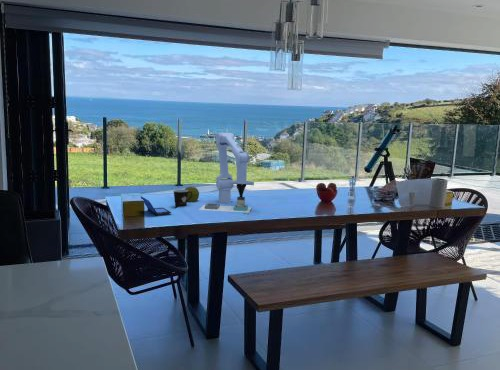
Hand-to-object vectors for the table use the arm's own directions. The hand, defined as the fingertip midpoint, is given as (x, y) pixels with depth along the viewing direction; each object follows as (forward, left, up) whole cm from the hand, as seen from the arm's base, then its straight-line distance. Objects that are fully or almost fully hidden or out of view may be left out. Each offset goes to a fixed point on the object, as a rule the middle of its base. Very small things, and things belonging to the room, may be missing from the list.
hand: (241, 196), depth 270 cm
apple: (-16, -34, -9) cm, 39 cm away
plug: (0, 0, -7) cm, 7 cm away
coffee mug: (-2, -35, -9) cm, 36 cm away
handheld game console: (+16, -46, -9) cm, 49 cm away
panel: (0, -9, -8) cm, 12 cm away
